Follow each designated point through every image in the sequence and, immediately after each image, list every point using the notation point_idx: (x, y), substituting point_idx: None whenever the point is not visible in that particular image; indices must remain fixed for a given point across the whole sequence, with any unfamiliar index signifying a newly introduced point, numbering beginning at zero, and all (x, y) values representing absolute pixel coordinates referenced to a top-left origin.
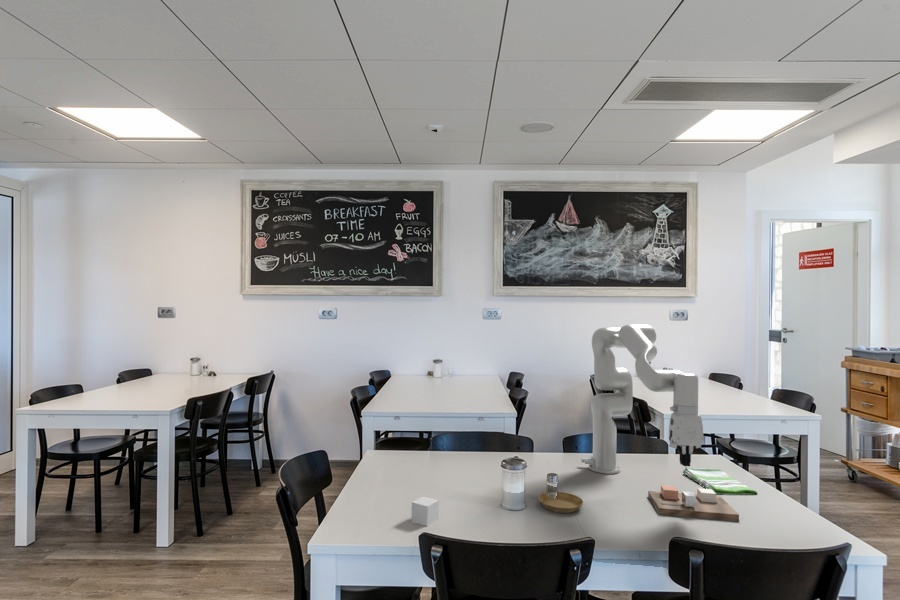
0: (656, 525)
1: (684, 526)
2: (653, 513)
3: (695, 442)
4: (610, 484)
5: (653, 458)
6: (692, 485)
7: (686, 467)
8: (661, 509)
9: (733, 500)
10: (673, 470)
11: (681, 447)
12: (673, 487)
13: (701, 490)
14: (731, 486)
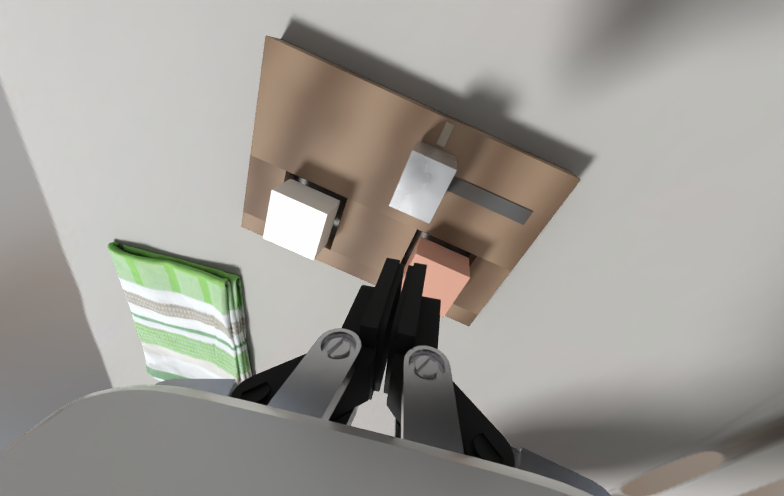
0: (716, 53)
1: (578, 16)
2: (587, 185)
3: (204, 461)
4: (514, 405)
5: None
6: (269, 336)
7: None
8: (570, 173)
9: (204, 221)
10: None
11: (460, 442)
12: None
13: (311, 235)
14: (165, 293)
